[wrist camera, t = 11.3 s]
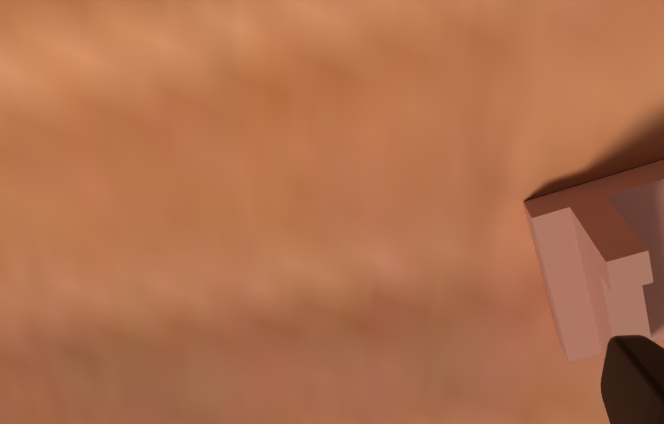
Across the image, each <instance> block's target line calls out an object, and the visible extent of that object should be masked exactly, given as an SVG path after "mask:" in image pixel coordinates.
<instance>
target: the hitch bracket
mask: <svg viewBox="0 0 664 424" xmlns="http://www.w3.org/2000/svg"><path fill="white" fill-rule="evenodd" d="M523 203H524V207H525V211H526V214H527V218H528V222H529V226H530V230H531V234H532V237H533V241H534V245H535V249H536V253H537V257H538V260H539V264H540V268H541V272H542V276H543V280H544V283H545V287H546V291H547V295H548V299H549V302H550V306H551V310H552V314H553V318H554V322H555V325H556V329H557V333H558V337H559V341H560V344H561V346H562V348H563V350H564V352H565V355H566V357H567V359H568V361H569V362H572V361H576V360H580V359H584V358H588V357H592V356H596V355H600V354H602V355H603V356H604V358H605V355H606V350H607V345H608V342H609V340H610V338H612V337H614V336H620V335H642V336H645V337H647V338H649V339H650V340H652V341H657V340H661V339H664V160H661V161H657V162H654V163H651V164H647V165H644V166H641V167H637V168H634V169H631V170H627V171H624V172H621V173H618V174H614V175H611V176H608V177H604V178H601V179H598V180H594V181H591V182H588V183H585V184H581V185H578V186H575V187H571V188H568V189H565V190H561V191H558V192H555V193H551V194H548V195H545V196H542V197H538V198H535V199H532V200H528V201H525V202H523Z"/></svg>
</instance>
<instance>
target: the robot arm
mask: <svg viewBox="0 0 664 424" xmlns="http://www.w3.org/2000/svg"><path fill="white" fill-rule="evenodd" d="M601 393H602V398H603V402H604V405H605V408H606V411H607V415H608V418H609V421H610V424H664V348H663V347H661V346H659V345H658V344H656V343H655V342H653V341H652V340H650V339H649V338H647V337H645V336H642V335H620V336H614V337H612V338H610V340H609V342H608V345H607V350H606V355H605V361H604V367H603V372H602V378H601Z"/></svg>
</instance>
